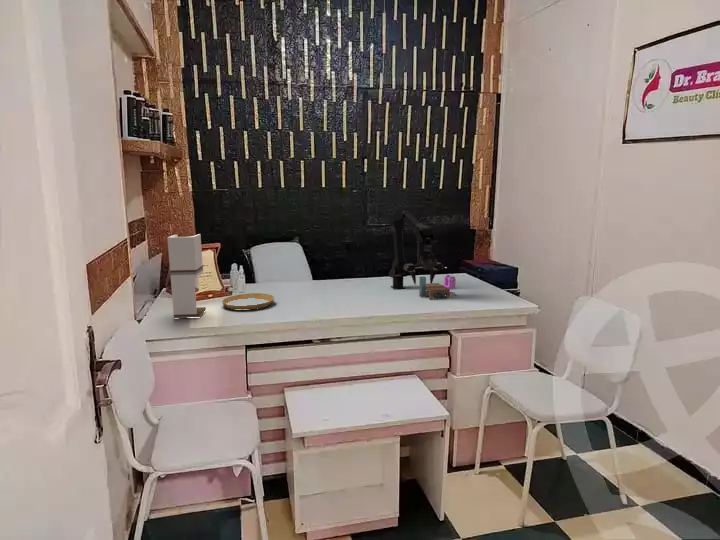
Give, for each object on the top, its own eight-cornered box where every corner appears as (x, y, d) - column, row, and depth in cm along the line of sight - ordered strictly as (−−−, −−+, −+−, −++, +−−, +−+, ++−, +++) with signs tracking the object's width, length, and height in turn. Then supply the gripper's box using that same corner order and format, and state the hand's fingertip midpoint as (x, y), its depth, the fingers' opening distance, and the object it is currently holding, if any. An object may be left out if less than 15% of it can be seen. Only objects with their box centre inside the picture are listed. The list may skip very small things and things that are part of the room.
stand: (419, 293, 250) (419, 284, 249) (437, 292, 252) (438, 283, 251) (430, 299, 236) (430, 290, 235) (449, 298, 238) (449, 289, 237)
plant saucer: (222, 314, 215) (221, 307, 214) (222, 301, 238) (222, 295, 237) (277, 310, 221) (276, 302, 220) (272, 298, 244) (271, 291, 243)
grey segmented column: (199, 318, 207) (193, 237, 201) (174, 319, 206) (167, 237, 200) (205, 311, 218) (200, 234, 212) (181, 312, 217) (175, 234, 211)
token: (443, 294, 248) (443, 292, 248) (452, 293, 249) (452, 291, 249) (448, 296, 243) (448, 294, 243) (457, 295, 244) (457, 293, 244)
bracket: (450, 286, 265) (450, 274, 264) (455, 289, 260) (455, 276, 258) (428, 288, 260) (429, 276, 259) (433, 291, 255) (434, 278, 254)
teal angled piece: (419, 296, 243) (419, 276, 242) (444, 294, 246) (445, 275, 245) (421, 297, 241) (421, 277, 239) (446, 295, 244) (447, 276, 242)
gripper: (410, 255, 229) (410, 288, 232) (447, 254, 233) (447, 286, 236) (403, 252, 240) (403, 283, 242) (438, 251, 244) (438, 281, 246)
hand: (423, 283), depth 241 cm, fingers open, 8 cm apart
